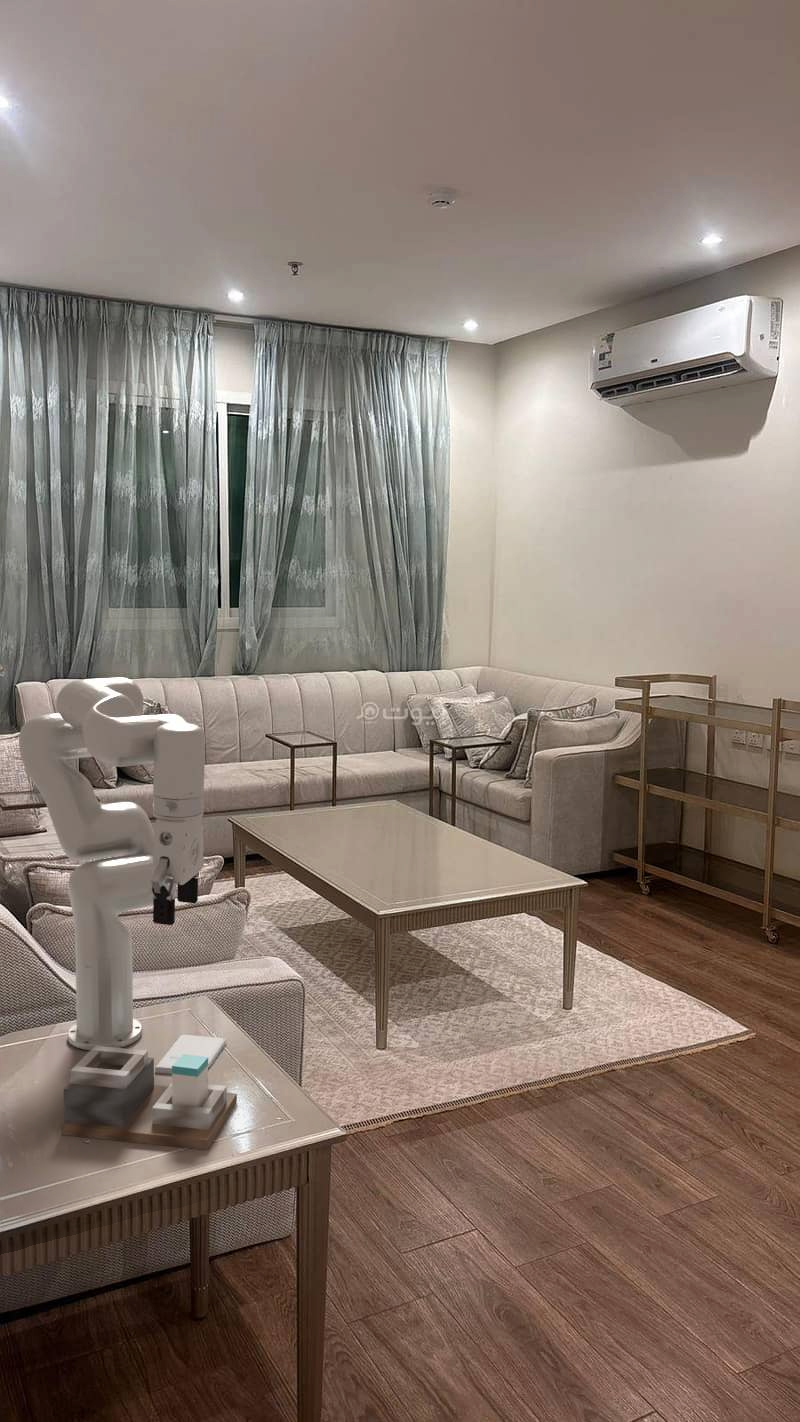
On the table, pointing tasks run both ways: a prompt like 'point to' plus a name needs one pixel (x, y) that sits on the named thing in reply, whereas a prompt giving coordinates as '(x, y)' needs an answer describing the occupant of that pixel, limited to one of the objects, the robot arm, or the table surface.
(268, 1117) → the table surface
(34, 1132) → the table surface
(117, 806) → the robot arm
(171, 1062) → the external hard drive
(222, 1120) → the socket console
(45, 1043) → the table surface
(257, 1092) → the table surface
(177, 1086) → the plug block
